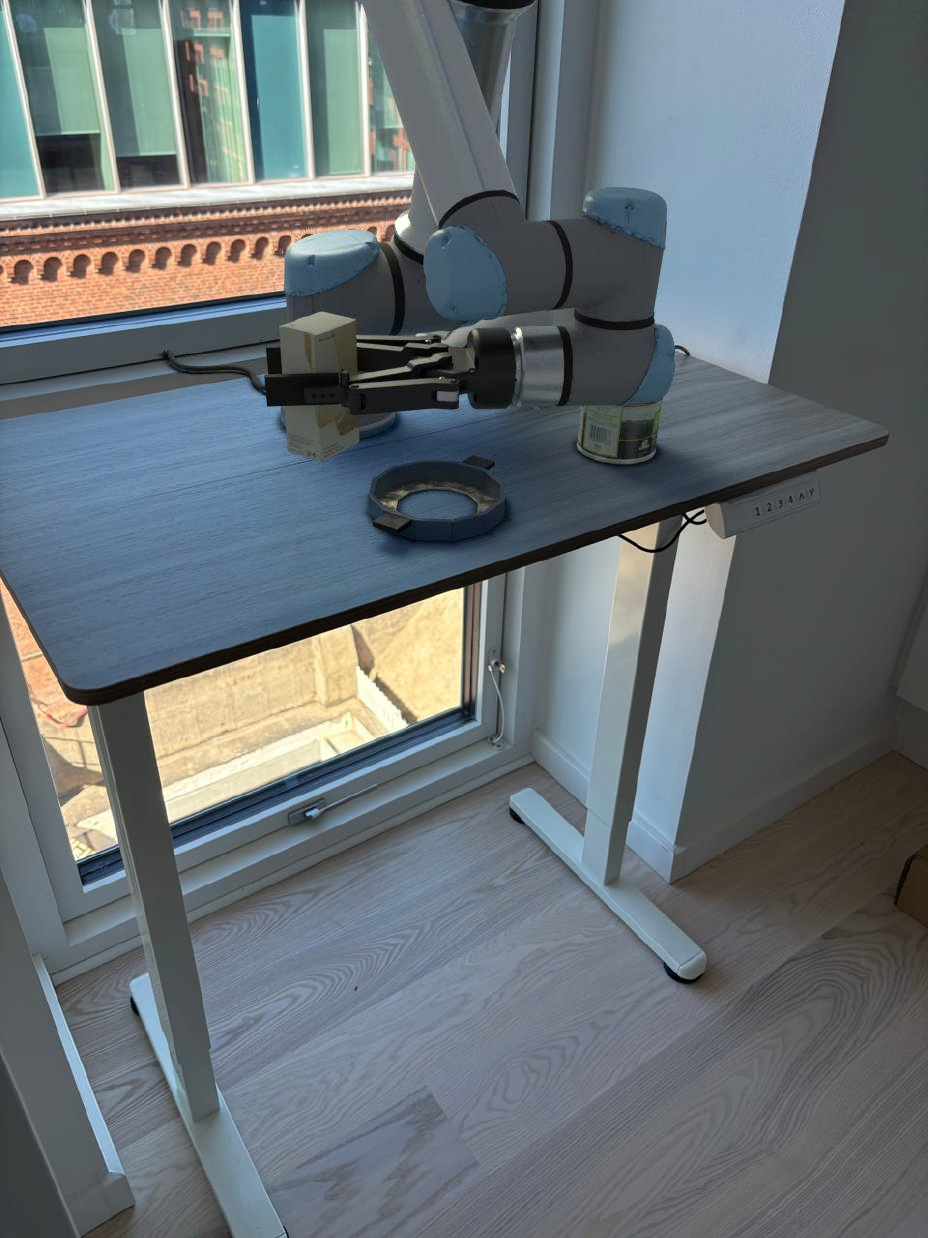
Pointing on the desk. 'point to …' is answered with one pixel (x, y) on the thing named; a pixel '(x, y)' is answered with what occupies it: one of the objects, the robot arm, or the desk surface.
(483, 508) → the handled polygonal ring
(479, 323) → the projector
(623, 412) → the coffee can
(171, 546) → the desk surface
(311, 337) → the cosmetic box
